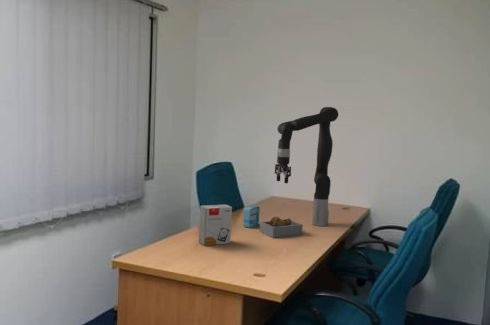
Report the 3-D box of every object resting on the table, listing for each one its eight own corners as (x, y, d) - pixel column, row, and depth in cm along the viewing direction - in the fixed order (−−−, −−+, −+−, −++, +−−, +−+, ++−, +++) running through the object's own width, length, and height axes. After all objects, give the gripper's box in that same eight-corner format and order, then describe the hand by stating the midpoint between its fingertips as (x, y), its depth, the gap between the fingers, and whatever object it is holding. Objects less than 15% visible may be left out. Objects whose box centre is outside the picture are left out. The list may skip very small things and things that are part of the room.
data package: (249, 228, 280) (250, 209, 279) (242, 227, 283) (243, 208, 281) (258, 224, 291) (259, 206, 289) (252, 223, 293) (253, 205, 292)
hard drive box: (203, 246, 240) (205, 208, 238) (198, 242, 247) (199, 205, 244) (230, 243, 247) (232, 206, 245) (224, 239, 254) (226, 203, 252)
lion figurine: (283, 233, 277) (289, 219, 278) (288, 235, 272) (294, 221, 273) (264, 223, 270) (271, 209, 271) (269, 224, 265) (276, 210, 267)
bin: (288, 228, 284) (288, 219, 283) (302, 234, 271) (302, 224, 271) (259, 231, 274) (260, 221, 273) (272, 238, 261) (273, 227, 260)
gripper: (295, 157, 278) (293, 183, 280) (282, 154, 291) (280, 180, 292) (285, 157, 275) (283, 184, 276) (272, 154, 287) (270, 180, 289)
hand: (282, 182), depth 284 cm, fingers open, 8 cm apart
